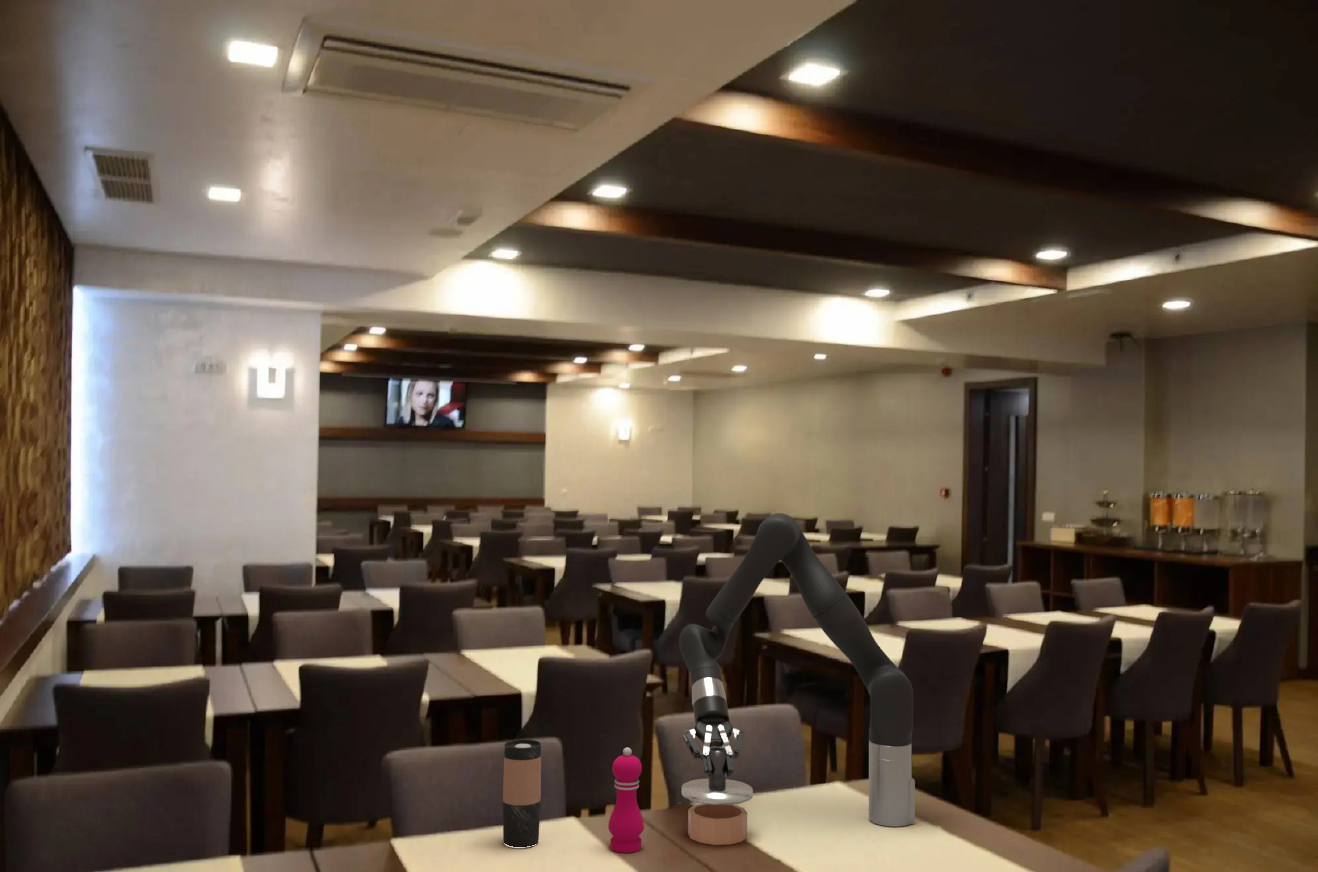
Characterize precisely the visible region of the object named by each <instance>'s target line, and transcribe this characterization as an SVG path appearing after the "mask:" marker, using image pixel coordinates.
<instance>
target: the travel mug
mask: <svg viewBox="0 0 1318 872" xmlns="http://www.w3.org/2000/svg"><path fill="white" fill-rule="evenodd" d="M503 752H504V754H503V755H504V756H503V758H504V759H503V762H504V763H503V781H502V782H503V784H502V785H503V786H502V787H503V788H502V831H503V832H502V836H503V837H502V839H503V840H502V841H504V843H505V844H507V845H509V846H513V847H527V846H532V845H535V844H537V843H538V844H539V840H540V839H539V837H540V819H541V799H542V797H541V796H542V795H541V793H542V790H541V789H542V788H541V787H542V786H541V785H542V783H541V780H542V742H540V741H538V740H533V739H513V740H509V741H506V742H505V743H504V751H503ZM504 843H503V844H504ZM538 844H537V845H538Z"/></svg>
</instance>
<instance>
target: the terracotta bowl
mask: <svg viewBox="0 0 1318 872" xmlns="http://www.w3.org/2000/svg"><path fill="white" fill-rule="evenodd" d="M687 811H688V812H687V813H688V815H687V817H688V819H687V821H688V822H687V834H688V837H689V839H691V840H693V841H695V842H697V843H700V844H707V845H713V846H723V845H724V846H725V845H735V844H738V843H742V842H744V840H746V838H748V811H747V810H746V809H745V808H744V807H742V806H739V805H738V804H731V805H712V804H703V803H699V804H694V805H692V806H691V807H690V808H688V810H687Z"/></svg>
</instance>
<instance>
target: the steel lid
mask: <svg viewBox="0 0 1318 872" xmlns="http://www.w3.org/2000/svg"><path fill="white" fill-rule="evenodd" d="M708 755H709V756H710V760H711V768H712V774H711V776H708V778H699V779H693V780H692V779H691V780H690V781H687V782H685V783H683V784H682V785H681V795H682V797H683V798H685V799H687V800H689V801H691V802H695V803H699V804H702V803H703V804H712V805H731V804H734V805H738V804H739V805H740V804H743V803H746V802H748V801H750V800H751V799H753V798H754V795H753V794H754V789H753V787H752V786H751V785H749V784H747V783H745V782H743V781H740V780H739V781H738V780H734V779H727V774H726V749H723V748H720V747H710V748H709V754H708Z"/></svg>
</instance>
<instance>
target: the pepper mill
mask: <svg viewBox="0 0 1318 872" xmlns="http://www.w3.org/2000/svg"><path fill="white" fill-rule="evenodd" d="M632 752H633V751H632V749H631V748H630V747H625V748H623V750H622V755H619V756H617V758H615V760H614V761H613V763H612V769H611V770H612V774H613V776H614V777H615V779H614V788H615V789H616V801H615V805H614V808H613V810H612V811H611V814H610V816H609V820H608V827H607V828H608V831H609V833H610V834H611V835H612V836H611V838H610V849H611V850H612V851H613V852H616V853H622V854H629V853H636V852H639V851H641V849H642V838H641V837H640V836H641V834H642V833H644V829H645V821H644V818H643V815H642V813H641V810H640V807H639V805H638V800H637V799H638V798H637V791H638V788H639V787H640V785H639V783H640V780H639V779H638V778H639V777H641V774H642V772H643V771H642V770H643V767H642V766H643V765H642V762H641V761H640V759H639V758H638V757H637V756H635V755H632Z"/></svg>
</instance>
